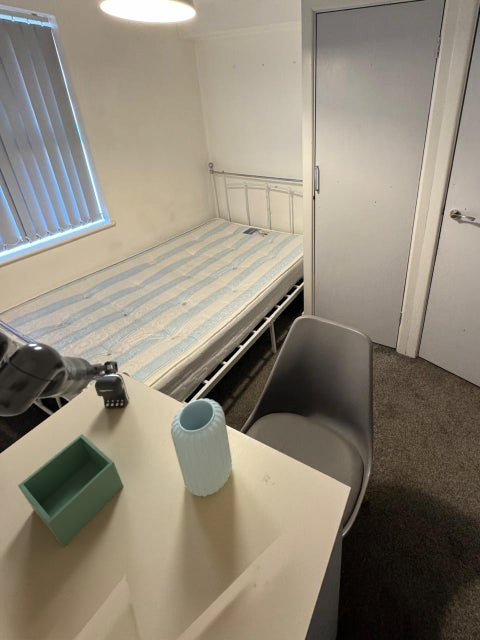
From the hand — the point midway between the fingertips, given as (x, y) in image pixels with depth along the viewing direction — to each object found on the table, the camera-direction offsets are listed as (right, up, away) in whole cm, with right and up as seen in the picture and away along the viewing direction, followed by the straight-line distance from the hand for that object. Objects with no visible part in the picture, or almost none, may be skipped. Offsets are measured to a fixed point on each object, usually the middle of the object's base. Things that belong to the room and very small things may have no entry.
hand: (90, 375), depth 80 cm
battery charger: (-4, -17, +18) cm, 25 cm away
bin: (0, -27, -4) cm, 27 cm away
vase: (+30, -25, 0) cm, 39 cm away
